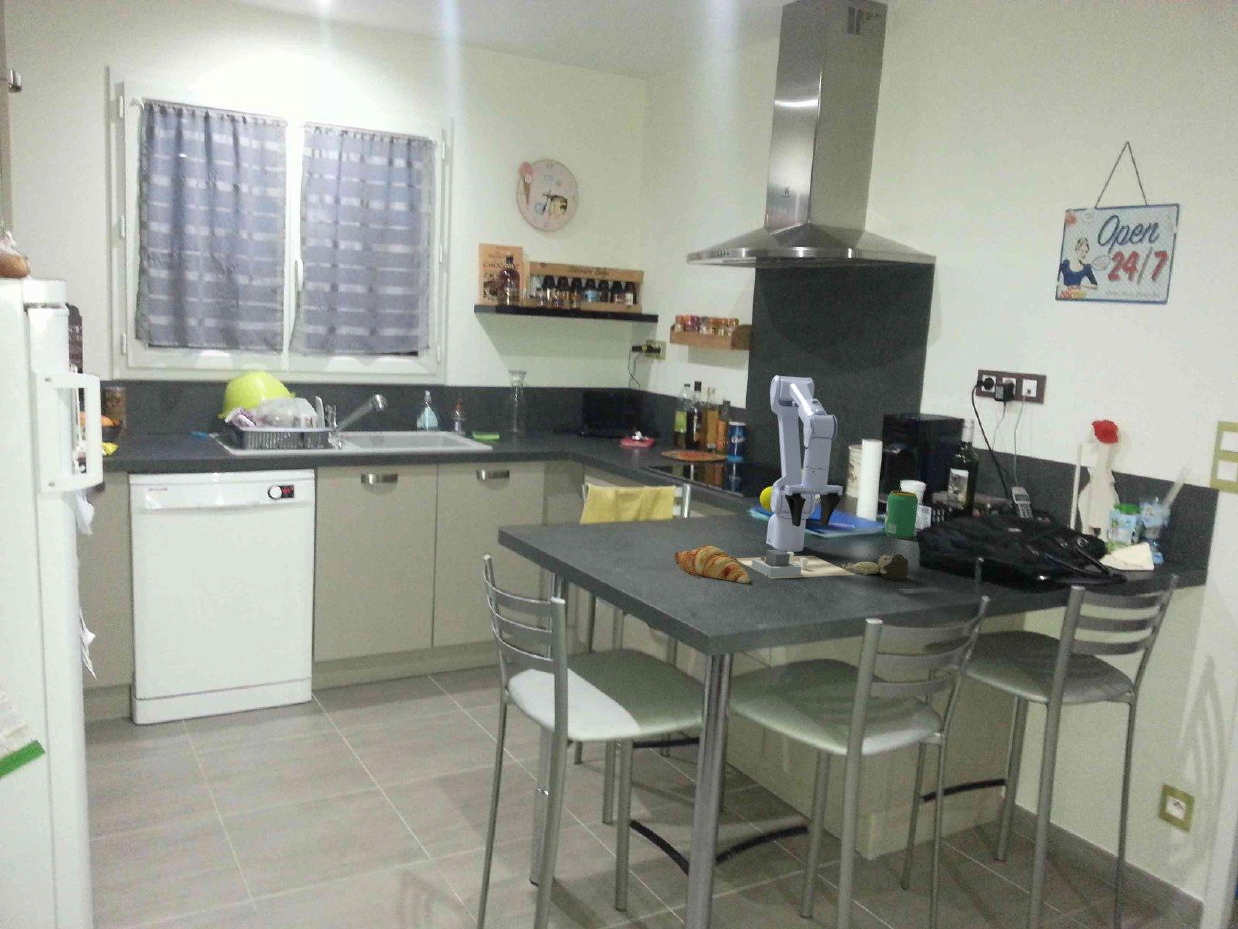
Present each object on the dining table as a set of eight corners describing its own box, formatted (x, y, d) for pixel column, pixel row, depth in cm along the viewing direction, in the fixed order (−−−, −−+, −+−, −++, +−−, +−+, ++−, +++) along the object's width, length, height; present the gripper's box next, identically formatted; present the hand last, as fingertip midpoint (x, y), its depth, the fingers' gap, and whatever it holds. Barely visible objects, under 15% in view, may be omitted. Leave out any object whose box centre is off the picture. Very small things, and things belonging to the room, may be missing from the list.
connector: (755, 565, 229) (757, 545, 228) (769, 564, 230) (771, 545, 230) (774, 574, 222) (776, 554, 221) (788, 574, 223) (790, 554, 222)
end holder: (751, 568, 226) (752, 559, 226) (782, 566, 229) (783, 558, 229) (769, 577, 219) (770, 568, 219) (800, 575, 222) (801, 566, 222)
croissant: (755, 602, 216) (769, 567, 217) (731, 586, 209) (746, 551, 210) (680, 576, 230) (694, 544, 232) (656, 561, 223) (670, 528, 224)
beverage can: (886, 531, 283) (891, 489, 282) (915, 535, 280) (920, 493, 278) (881, 536, 276) (886, 493, 274) (911, 540, 273) (916, 497, 271)
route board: (732, 562, 234) (733, 558, 234) (812, 559, 242) (813, 555, 242) (771, 582, 218) (771, 578, 218) (855, 579, 227) (855, 574, 227)
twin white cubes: (785, 562, 234) (786, 551, 234) (790, 561, 234) (791, 551, 234) (802, 569, 228) (803, 559, 227) (806, 569, 228) (807, 559, 228)
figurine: (852, 551, 237) (913, 552, 228) (854, 579, 237) (915, 580, 228) (836, 556, 231) (897, 557, 222) (838, 584, 231) (900, 586, 222)
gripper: (798, 470, 225) (792, 529, 227) (852, 470, 230) (846, 528, 232) (781, 464, 231) (775, 522, 233) (834, 465, 237) (828, 522, 239)
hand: (809, 525), depth 233 cm, fingers open, 7 cm apart
